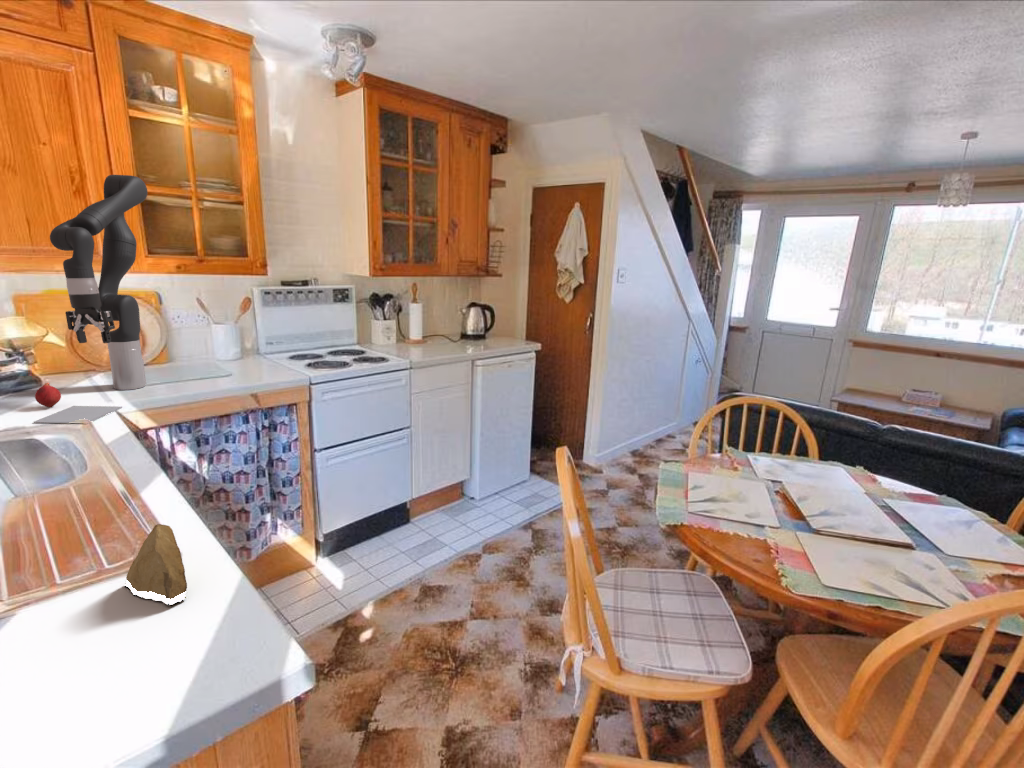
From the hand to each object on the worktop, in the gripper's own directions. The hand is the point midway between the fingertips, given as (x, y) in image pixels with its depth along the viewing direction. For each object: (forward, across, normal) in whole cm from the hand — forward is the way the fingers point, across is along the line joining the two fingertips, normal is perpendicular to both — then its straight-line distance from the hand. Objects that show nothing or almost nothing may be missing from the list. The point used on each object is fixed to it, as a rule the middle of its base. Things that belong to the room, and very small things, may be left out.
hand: (95, 342), depth 162 cm
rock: (+24, -90, +86) cm, 127 cm away
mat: (+19, -8, +17) cm, 27 cm away
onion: (+18, +7, +13) cm, 24 cm away
